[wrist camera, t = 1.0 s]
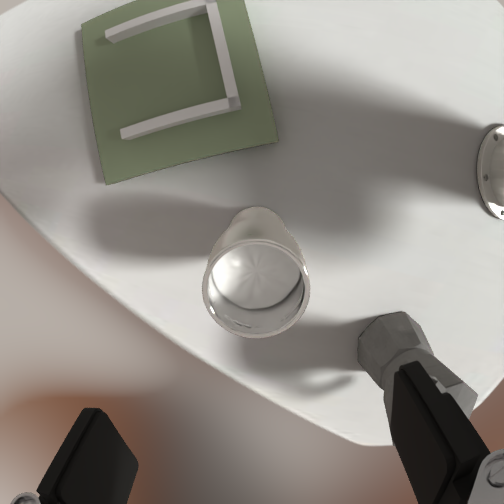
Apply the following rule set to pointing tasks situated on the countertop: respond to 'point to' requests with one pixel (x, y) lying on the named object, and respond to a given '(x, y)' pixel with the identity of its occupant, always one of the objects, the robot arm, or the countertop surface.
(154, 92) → the plate
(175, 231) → the countertop surface
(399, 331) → the coffeepot
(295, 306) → the beer glass
